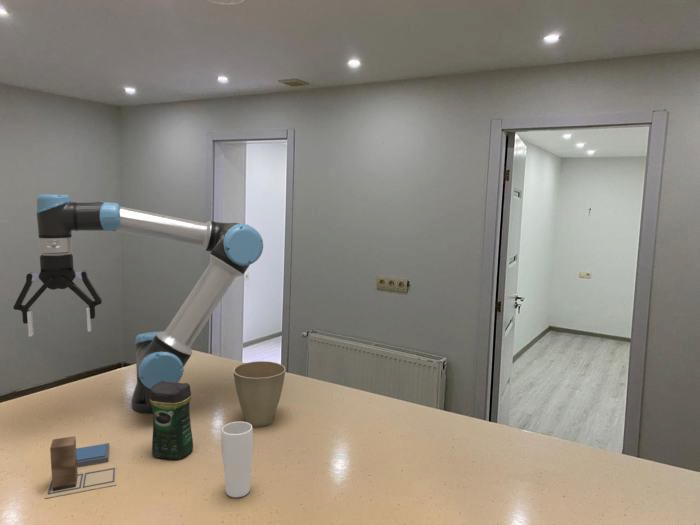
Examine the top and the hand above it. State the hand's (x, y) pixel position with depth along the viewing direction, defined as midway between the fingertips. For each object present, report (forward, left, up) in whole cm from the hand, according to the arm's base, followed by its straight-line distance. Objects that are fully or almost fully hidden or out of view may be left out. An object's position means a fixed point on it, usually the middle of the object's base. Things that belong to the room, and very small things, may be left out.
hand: (60, 333), depth 135 cm
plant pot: (-51, +11, -29) cm, 60 cm away
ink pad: (-6, +16, -29) cm, 33 cm away
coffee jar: (-26, +21, -29) cm, 44 cm away
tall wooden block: (-2, +27, -28) cm, 40 cm away
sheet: (-6, +27, -29) cm, 40 cm away
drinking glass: (-38, +45, -29) cm, 66 cm away
